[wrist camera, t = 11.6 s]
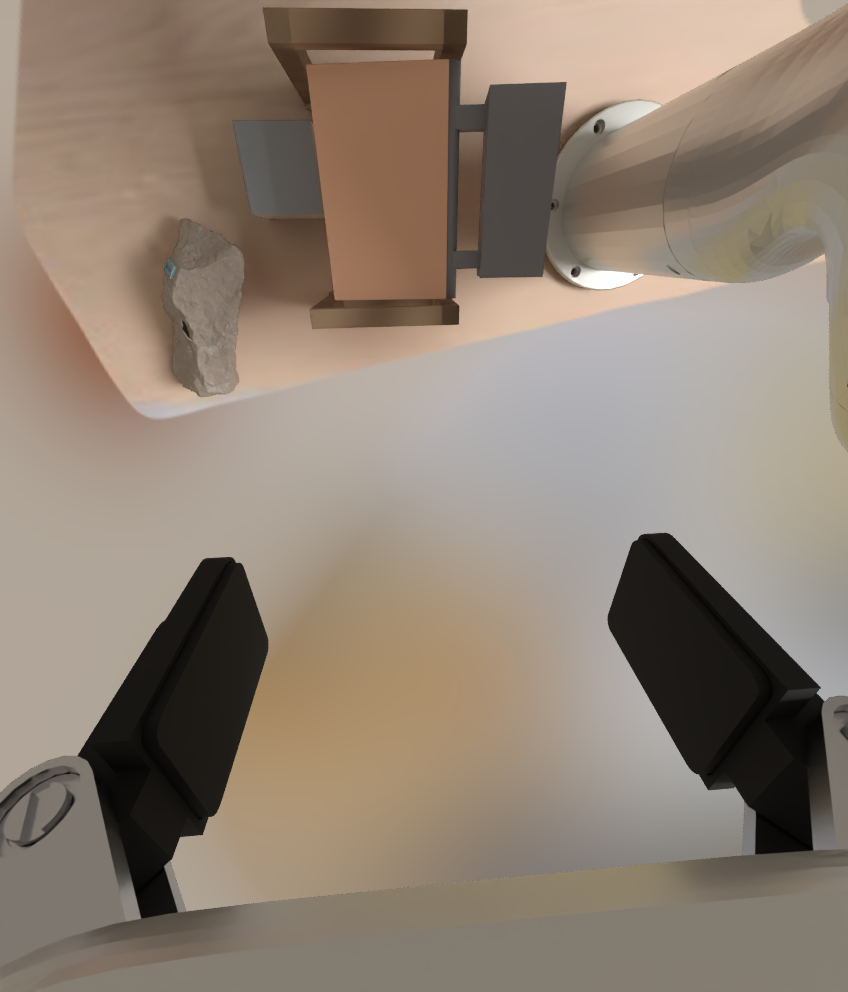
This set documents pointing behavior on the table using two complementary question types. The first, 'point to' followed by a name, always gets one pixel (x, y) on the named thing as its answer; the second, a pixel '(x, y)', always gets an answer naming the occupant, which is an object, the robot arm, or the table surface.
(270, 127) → the slate block
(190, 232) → the concrete fragment
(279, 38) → the frame
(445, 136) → the trapdoor
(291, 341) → the table surface
